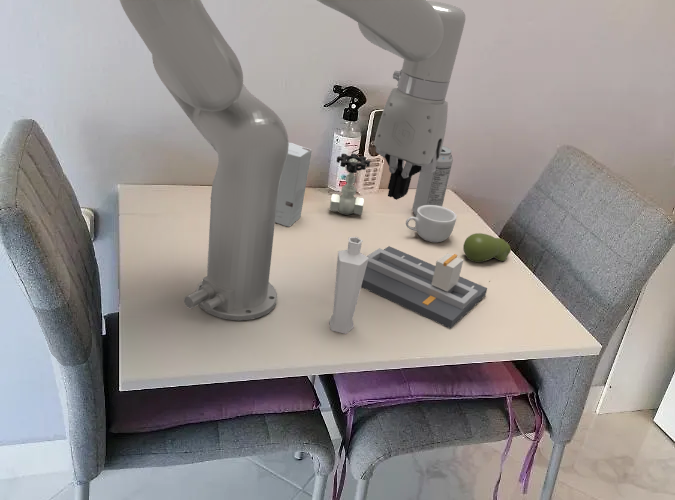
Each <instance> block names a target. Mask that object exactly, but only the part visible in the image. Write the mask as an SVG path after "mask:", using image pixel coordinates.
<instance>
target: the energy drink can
mask: <svg viewBox="0 0 675 500" xmlns="http://www.w3.org/2000/svg"><path fill="white" fill-rule="evenodd" d="M452 152H453V151H452V149H451V148H449V147H448V146H445V145H442V150H441V153H440V156H439V159H438V160H437V161H436V171H435V172H433V173H422V172H419V174H418V180H417V185H416V190H415V195H414V200H413V204H412V212H413V215H414V217H416V214H417V209H418V208H419V207H420V206H423V205H437V206H442V207H443V206H444V205H443V204H444V200H445V196H446V192H447V188H448V183H449V178H450V174H451V170H452V165H453V160H454V159H453V155H452Z"/></svg>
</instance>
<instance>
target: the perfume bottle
mask: <svg viewBox="0 0 675 500" xmlns="http://www.w3.org/2000/svg"><path fill="white" fill-rule="evenodd" d="M362 243H363V239H361V238H359V237H357V236H349V237H348V244H347V248H346V249H342V250H338V251H337V260H336V273H335V282H334V283H335V285H334V286H335V287H334V295H333V308H332V315H331V317H330V319H329V328H330V331H333V332H335V333H336V332H337V333H342V334H345V335H346V334H348V333H349V332H350V331H352V330H353V329H354V326H355V325H354V315H355V312H356V308H357V304H358V300H359V296H360V292H361V289H362V287H361V285H362V282H363V278H364V274H365V270H366V266H367V263H368V259H369V258H368V257H367V256H368V255H365V254H364V253H362V252H361V248H362Z"/></svg>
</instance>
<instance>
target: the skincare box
mask: <svg viewBox="0 0 675 500" xmlns="http://www.w3.org/2000/svg"><path fill="white" fill-rule="evenodd" d="M312 152H313V151H312V149H311V148H308V147H305V146H301V145H299V144H296V143H293V142H289V147H288V154H287V158H286V161H285V165H284V168H283V171H282V175H281V179H280V184H279V189H278V196H277V205H276V216H275V224H276V223H277V224H279V225H282V226H285V227H291V226H292V225H293V224H295V223H296V222H297V221H298V220H299V219H300V218H301V217H302V211H303V204H304V198H305V192H306V187H307V182H308V181H307V180H308V174H309V169H310V163H311V159H312V158H311V156H312ZM295 221H296V222H295Z"/></svg>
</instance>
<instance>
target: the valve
mask: <svg viewBox="0 0 675 500" xmlns="http://www.w3.org/2000/svg"><path fill="white" fill-rule="evenodd" d="M336 163H338V164H339V163H340V164H339V165H340V167H341V168H345V169H346V171H347V172H348V174H346V176H345V182H346V183H345V184H344V185H343V186H341V191H340V192H341V193H342V194H336V193H332V194H331V197H330V202H329V203H330V204H329V211H330V212H336V213H340V214H342V215H345V216H349V215H352V214H353V215H357V216H358V215H359V216H362V215H363V212H364V202H365V199H364V198H363V197H360V196H359V197H358V196H356V197H355V195H356V194H357V188H356V187H355V185H354V184H355V183H356V175H355V174H356V173H358V171H362V170H363V171H364V170H366V168H368V167H370V165H371V161H370V160H367V157H366V156H365V155H362V156H357V154H356V153H350V155H348V154H347V153H341V154H340V155H339V156H336Z"/></svg>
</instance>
